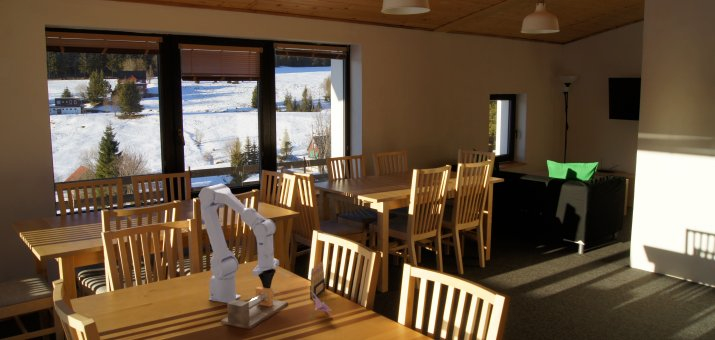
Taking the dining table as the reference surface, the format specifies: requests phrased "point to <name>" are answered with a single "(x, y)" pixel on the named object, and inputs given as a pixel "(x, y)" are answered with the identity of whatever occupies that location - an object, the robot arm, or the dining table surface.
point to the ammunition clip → (317, 281)
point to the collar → (269, 295)
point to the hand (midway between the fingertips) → (266, 289)
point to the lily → (320, 305)
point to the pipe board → (250, 313)
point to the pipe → (257, 300)
